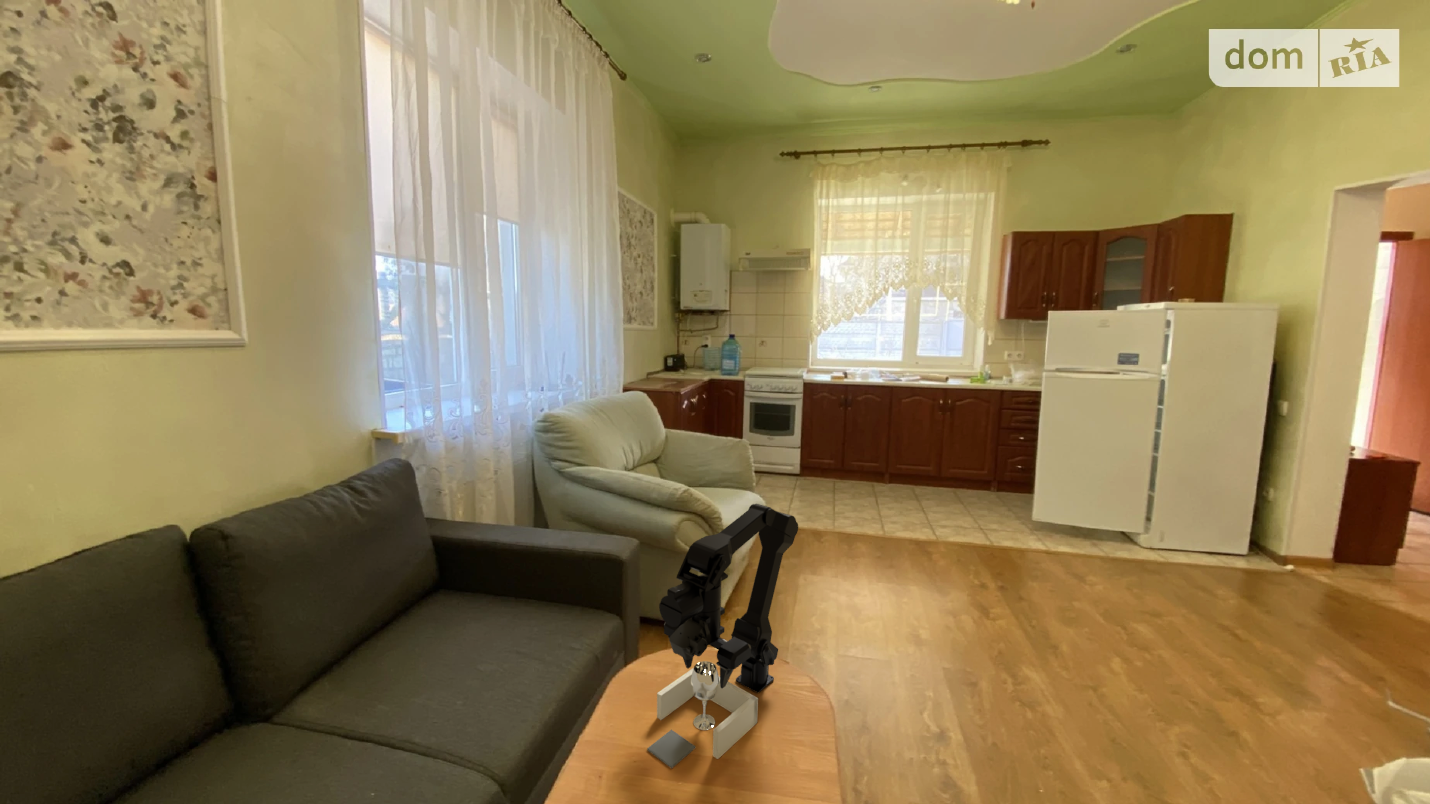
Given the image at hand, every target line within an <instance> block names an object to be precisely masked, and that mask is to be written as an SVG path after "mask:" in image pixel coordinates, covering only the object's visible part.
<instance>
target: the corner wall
mask: <svg viewBox="0 0 1430 804" xmlns="http://www.w3.org/2000/svg"><path fill="white" fill-rule="evenodd" d="M693 669H694V667H692V668H691V669H689V670H688V671H686V672H685V673H684V674H683V675H681V676H679V677H678V678H677V679H675V680H674V681H671V683H670V684H668V685H666V686H665V687H664V688H662V689H661V690H660V691H658V692H657V693H656V718H657V719H659V720H660V721H662V720H663V719H665V718H666V717H668V715H670V714H671V713H672V712H674V711H675V710H677V709H679V707H681V706H682V705H684V704H685V703H686V702H687V701H689V700H690V699H691V698H693V697H695V696H694V695H693V693H692V690H691V677H692V672H693ZM709 701H712V702H714V703H715V704H717V705H719V706H721V707H722V708H724V709H725V710H726V711H728V712H730V713H731V714H730V715H728V716H727V717H726V718H725V719H724V720H723V721H722V722H720V723H719V724H718V725H717V726H716V727H714V728H713V730H712V731H713V733H712V736H713V737H712V756H713V757H714V758H715V759H717V760H718V759H720V758H721V756H723V755H724V754H725V753H726V752H727V751H729V750H730V749H731V748H732V747H733V746H734V745H735V744H736V743H737V742H738V741H739V740H741V738H743V736H744V735H745V734H747V733H748V732H749V731H750V730H751V729H752V728H753V727H755V725H757V723H758V715H759V714H758V712H759V711H758V710H759V707H758V706H759V698H758V697H757V696H755V695H754V694H751V693H750V692H748V691H746V690H744V689H743V688H740V687H739V686H737V685H735V684H734V683H732V682H731V681H728V682H727V684H726V686H725V687H724V688H721V686H720V676H719V689H718V692H717V694H716V696H715V697H714V698H712V699H710V700H709Z"/></svg>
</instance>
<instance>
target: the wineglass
mask: <svg viewBox="0 0 1430 804" xmlns="http://www.w3.org/2000/svg"><path fill="white" fill-rule="evenodd" d="M717 667H718V666H717V664H716V663H714V662H712V661H708V660H703V661H699V662H696V664H695V665H694V666H693V668H694V669H693V668H692V669H693V672H692V677H691V690H692V693H693V695H694V696H693V697H695V698H697V700H700V701H701V703H702V709H703V710H702V711H703V712H702V714H698V715H696V716H695V717H694V719H693V725H694V727H695V728H696V729H698V730H700V731H708V730H711V729H712V728H713V729H714V728H715V725H716V720H715V718H714V716H712V715H711V714H706V711H707V710H706V708H707V704H708V701H711V700H710V699H712V698H714V697H715V696H716V694H717V692H718V689H719V677H720V675H719V672H718V668H717Z"/></svg>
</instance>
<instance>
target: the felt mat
mask: <svg viewBox="0 0 1430 804" xmlns="http://www.w3.org/2000/svg"><path fill="white" fill-rule="evenodd" d="M695 749H696V745H694V744H693V743H691V741H688V740H687V739H686V738H685V737H683V736H681V735H680V734H679V733H677V732H676V731H674V730H673V729H670V730H669V731H668V732H665V734H664V735H662V736H661V737H660V738H658V739H657V740H656V741H655V742H653V743H652V744H651V745H649V746H648V747H647V748H646V751H648V753H650V754H652V755H653V756H654V757H655V758H656V759H658V760H660V761H661V762H662V763H663V764H664V765H666V766H667V767H669V768H670V769H673V768H674V767H675V766H677V764H678V763H680V762H681V761H683V759H684V758H686V757H687V756H688V755H690V753H691V752H693V751H694V750H695Z"/></svg>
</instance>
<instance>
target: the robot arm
mask: <svg viewBox="0 0 1430 804" xmlns="http://www.w3.org/2000/svg"><path fill="white" fill-rule="evenodd" d="M798 531H799V524H798V522H797V519H796V516H794V515H793V514H788V513H784V512H780V511H777V510H775V509H773V508H772V507H770V506H767V505H764V504H760V503H752V504H751V505H750V506H749V508H748V510H746V511H745V512H744V513H743V514H741V515H740V516H739V517H738V518H736V519H735V520H733V521H732V522H731V523H730V524H728V525H727V526H726V527H724V529H722V530H721V531H720V532H718V533H716V534H711V535H710V534H709V535H706V536H704V537H703V536H702V537H701V538H699V539H698V540H696V541H694V542H693V543H692V544H691V545H690V546H689V548H688V550H687V552H686V555H684V559H683V561H682V563H681V566H680V568H679V570H678V571H677V572H678V573H677V574H676V579H677V580H679V581H680V582H681V583H679V584H678V585H676V586H673V587H669V588H668V589H667V590H666V591H667V594H666V595H664V596H663V597H662V598H661V599H660V602H659V604H658V607H659V609H658V610H659V614H660V617H661V618H662V620H663V621H664V624H663V634H664V635H666V636H668V639H669V640H668V641H669V644H670V646H671V650H672V652H673V654H675V655H678V656H680V657H682V658H683V659H682V660H683V663H684V665H685V668H686V669H688V670H690V668H691V667H692V665H693V660H694V656H696V657H701V656H702V655H703V654H704V652H705V651H706V650H707V648H708V646H710V647H713V648H714V649H716V650H717V652H716V659H717V662H716V663H715V665H716V666H717V667H719V677H720V686H721V688H724V687H725V686H726V684H727V682H729V680H730V678H731V676H732V674H733V672H734V670H735V669H737V668H738V667H740V666H741V667H740V674H739V675H738V676H737V677H736V678H735V681H736V682H737V683H738V684H741V685H742V686H744V687H746V688H747V689H749V690H751V691H753V692H755V693H757V694H759V693H760V692H762V691H763V690H764V689H765V688H766V687H768V686H769V685H770V684H771V683H772V682H773V681H774V680H775V678H774V676H772V675H770V674H769V671H770V670H769V666H773V665H775V661H776V659H777V657H778V653H779V648H778V647H777V646H775V644H773V643H772V642H771V641H772V635H773V630H772V626H771V623H770V619H769V616H770V615H769V614H770V611H771V607H772V603H773V600H774V599H773V598H774V594H775V589H776V586H777V581H778V577H779V572H780V569H781V565H782V560H783V556H784V553H785V552H786V551H787V550H788V549H789V548H790V547H791V546H792V545H793V544H794V541H795V539H796V535H797V534H798ZM757 534H758V538H759V541H760V545H761V552H760V556H759V560H758V563H757V567H756V572H755V577H754V580H753V584H752V588H751V593H750V597H749V602H748V606H747V609H746V612H745V613H743V615H742V616H741V617H740V618H739V617H737V618H736V620H735V621H734V626H733V630H732V632H731V634H730V635H731V638H730V639H729V640H726V639H724V638H722V637H721V635H723V634H724V633H725V627H724V626H722V625H721V618H722V616H723V615H724V614H725V611H726V608H724V607H723V606H722V605H721V604H722V581H724V580H726V579H728V577H729V574H728V573H726V572H725V571H726V570H727V569H728V568H729V566H731V564H732V561H733V555H734V554H735V553H736V552H737V551H738V550H740V549H741V547H742V546H744V545H745V544H747V542H748V541H749V540H751V539H752V538H753V537H754V536H756V535H757ZM691 570H693V571H695V572H698V573H700V575H698V574H695V573H693V572H691Z"/></svg>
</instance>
